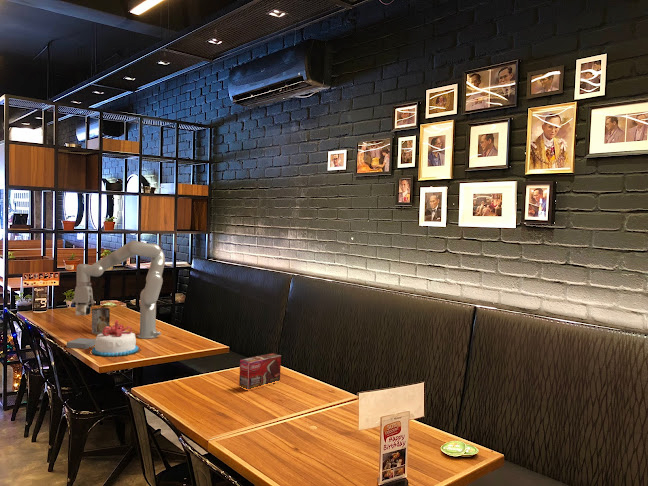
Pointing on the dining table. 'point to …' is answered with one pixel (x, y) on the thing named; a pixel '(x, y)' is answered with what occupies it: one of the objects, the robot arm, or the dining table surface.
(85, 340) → the stand
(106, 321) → the coffee box
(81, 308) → the cube
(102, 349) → the wedding cake
